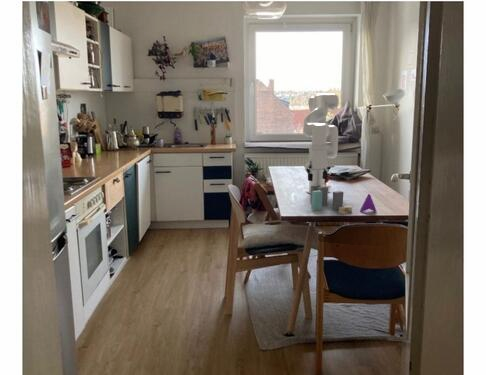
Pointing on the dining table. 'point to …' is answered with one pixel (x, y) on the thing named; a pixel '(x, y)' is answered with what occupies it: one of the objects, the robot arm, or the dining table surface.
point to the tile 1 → (314, 188)
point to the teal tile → (316, 200)
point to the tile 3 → (337, 200)
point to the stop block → (345, 209)
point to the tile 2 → (324, 194)
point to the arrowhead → (368, 204)
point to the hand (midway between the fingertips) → (317, 179)
